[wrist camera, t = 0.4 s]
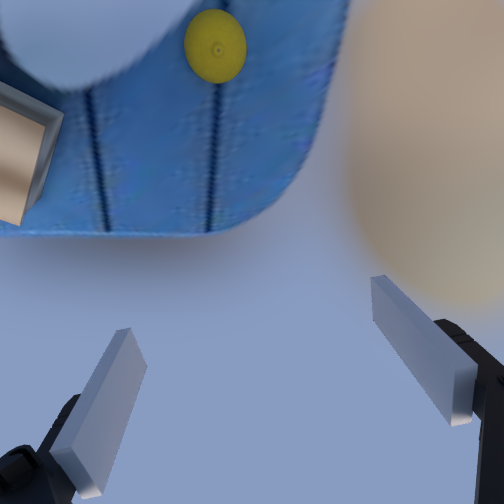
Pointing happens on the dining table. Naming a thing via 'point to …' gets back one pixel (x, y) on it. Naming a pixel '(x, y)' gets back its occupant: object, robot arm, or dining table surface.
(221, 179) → the dining table surface
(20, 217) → the oak riser
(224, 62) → the lemon
